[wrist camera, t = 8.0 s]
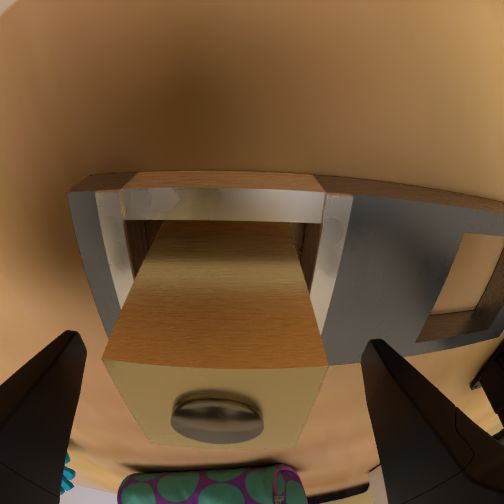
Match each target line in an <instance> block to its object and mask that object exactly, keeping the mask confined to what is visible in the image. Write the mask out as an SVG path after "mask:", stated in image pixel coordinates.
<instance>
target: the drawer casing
mask: <svg viewBox="0 0 504 504" xmlns="http://www.w3.org/2000/svg"><path fill="white" fill-rule="evenodd" d="M67 197H68V202H69V207H70V212H71V217H72V222H73V226H74V230H75V235H76V239H77V243H78V247H79V250H80V254H81V258H82V262H83V265H84V269H85V272H86V275H87V279H88V282H89V285H90V288H91V291H92V294H93V298H94V300H95V303H96V306H97V309H98V312H99V315H100V318H101V320H102V323H103V326H104V328H105V331H106V333H107V336H108V339H109V338H110V336H111V333H112V331H113V328H114V326H115V323H116V321H117V319H118V316H119V314H120V312H121V309H122V307H123V305H124V302H125V300H126V298H127V296H128V293H129V291H130V289H131V287H132V284H133V282H134V280H135V278H136V276H137V274H138V272H139V269H140V267H141V265H142V263H143V261H144V259H145V257H146V255H147V253H148V246H147V239H146V232H145V224H144V220H229V221H269V222H299V223H306V228H305V235H304V242H303V249H302V256H301V262H300V265H301V268H302V272H303V275H304V278H305V282H306V285H307V289H308V292H309V296H310V299H311V303H312V306H313V310H314V313H315V317H316V321H317V324H318V328H319V331H320V335H321V339H322V343H323V346H324V350H325V354H326V358H327V362H328V365H341V364H352V363H361V356H362V354H363V351H364V349H365V347H366V345H367V343H368V341H369V340H370V339H378V338H380V339H383V340H384V341H385V342H386V343H388V344H389V345H390V346H391V347H392V348H393V349H394V350H395V351H396V352H398V353H399V354H400V355H401V356H402V357H407V356H413V355H419V354H425V353H431V352H436V351H441V350H446V349H451V348H456V347H460V346H465V345H469V344H473V343H477V342H481V341H485V340H489V339H493V338H497V337H499V336H500V335H501V333H502V331H503V330H504V250H503V252H502V255H501V257H500V259H499V262H498V264H497V266H496V269H495V271H494V273H493V275H492V277H491V280H490V282H489V284H488V286H487V288H486V290H485V292H484V294H483V296H482V298H481V300H480V302H479V304H478V305H477V307H476V309H475V310H473V311H465V312H458V313H450V314H442V315H433V316H429V315H430V313H431V311H432V309H433V307H434V304H435V302H436V300H437V298H438V296H439V294H440V292H441V289H442V287H443V285H444V282H445V280H446V278H447V275H448V273H449V271H450V268H451V266H452V263H453V261H454V258H455V256H456V253H457V250H458V248H459V245H460V242H461V239H462V236H463V234H464V233H474V234H485V235H495V236H504V203H503V202H498V201H494V200H489V199H485V198H480V197H475V196H470V195H465V194H460V193H454V192H449V191H443V190H437V189H431V188H425V187H418V186H412V185H405V184H397V183H390V182H382V181H373V180H365V179H355V178H345V177H334V176H323V175H310V174H294V173H276V172H252V171H154V172H131V173H113V174H99V175H90V176H88V177H87V178H86V179H84V180H83V181H81V182H80V183H79V184H77V185H76V186H75V187H73V188H72V189H71V190H69V191H68V192H67Z"/></svg>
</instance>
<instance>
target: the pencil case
mask: <svg viewBox="0 0 504 504" xmlns="http://www.w3.org/2000/svg"><path fill="white" fill-rule="evenodd" d="M117 502H118V504H308V503H307V498H306V494H305V491H304V488H303V485H302V482H301V480H300V478H299V476H298V474H297V473H296V472H295V471H294V470H293V469H292V468H291V467H290V466H288V465H285V464H278V465H273V466H265V467H248V468H237V469H218V470H201V471H182V472H164V473H148V474H142V473H135V474H131V475H129V476H127V477H126V478H125V479H124V480H123V481H122V483H121V485H120V487H119V489H118V495H117Z"/></svg>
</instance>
